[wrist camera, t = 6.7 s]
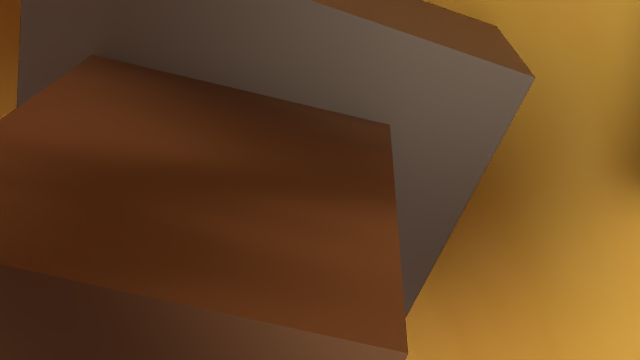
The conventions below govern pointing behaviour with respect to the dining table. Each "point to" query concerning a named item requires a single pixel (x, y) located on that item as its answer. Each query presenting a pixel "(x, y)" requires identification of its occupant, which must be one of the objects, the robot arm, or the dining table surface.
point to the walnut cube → (194, 225)
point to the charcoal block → (321, 80)
